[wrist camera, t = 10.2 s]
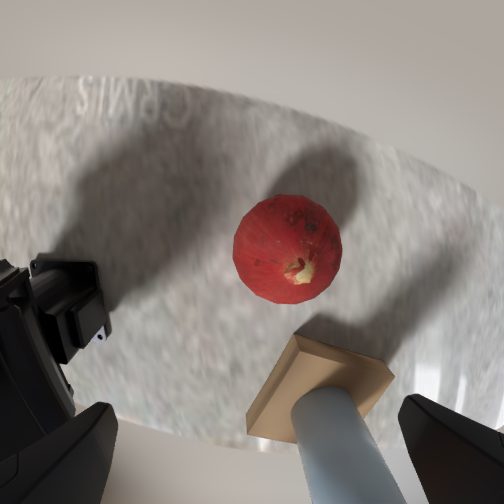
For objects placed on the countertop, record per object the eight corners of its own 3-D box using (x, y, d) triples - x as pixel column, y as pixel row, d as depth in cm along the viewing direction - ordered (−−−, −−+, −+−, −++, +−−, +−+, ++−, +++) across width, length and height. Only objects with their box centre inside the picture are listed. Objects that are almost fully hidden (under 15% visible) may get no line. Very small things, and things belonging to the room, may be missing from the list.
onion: (258, 177, 18) (275, 172, 11) (335, 217, 19) (393, 240, 11) (219, 257, 19) (208, 305, 12) (294, 292, 20) (327, 353, 13)
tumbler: (279, 430, 20) (307, 571, 8) (301, 381, 19) (355, 542, 7) (338, 432, 21) (387, 553, 8) (364, 385, 20) (441, 514, 7)
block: (245, 414, 23) (247, 434, 20) (293, 333, 21) (299, 351, 19) (331, 431, 24) (337, 448, 22) (382, 360, 22) (395, 376, 20)
